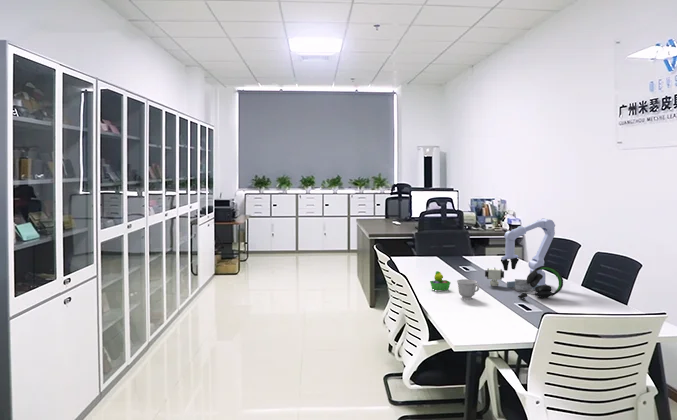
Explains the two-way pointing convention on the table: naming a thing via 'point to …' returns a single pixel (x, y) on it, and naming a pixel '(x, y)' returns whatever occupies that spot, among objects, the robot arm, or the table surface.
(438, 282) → the fruit basket
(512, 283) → the corner walls
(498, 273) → the pneumatic valve
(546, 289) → the headset
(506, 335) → the table surface
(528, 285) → the angle bracket
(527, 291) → the pad
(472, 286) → the teacup
